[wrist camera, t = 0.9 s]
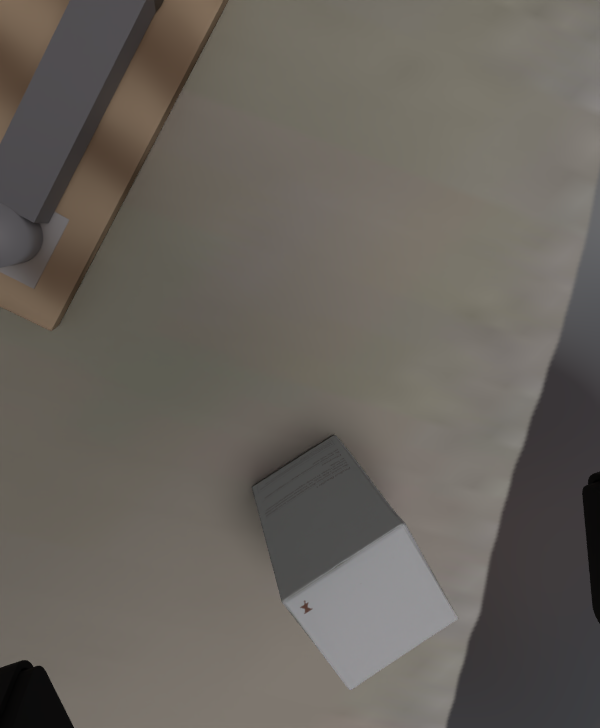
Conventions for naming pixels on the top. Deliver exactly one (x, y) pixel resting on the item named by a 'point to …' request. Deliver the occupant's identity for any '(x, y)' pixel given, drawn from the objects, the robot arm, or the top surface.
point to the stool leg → (63, 114)
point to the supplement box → (347, 563)
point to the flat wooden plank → (93, 140)
